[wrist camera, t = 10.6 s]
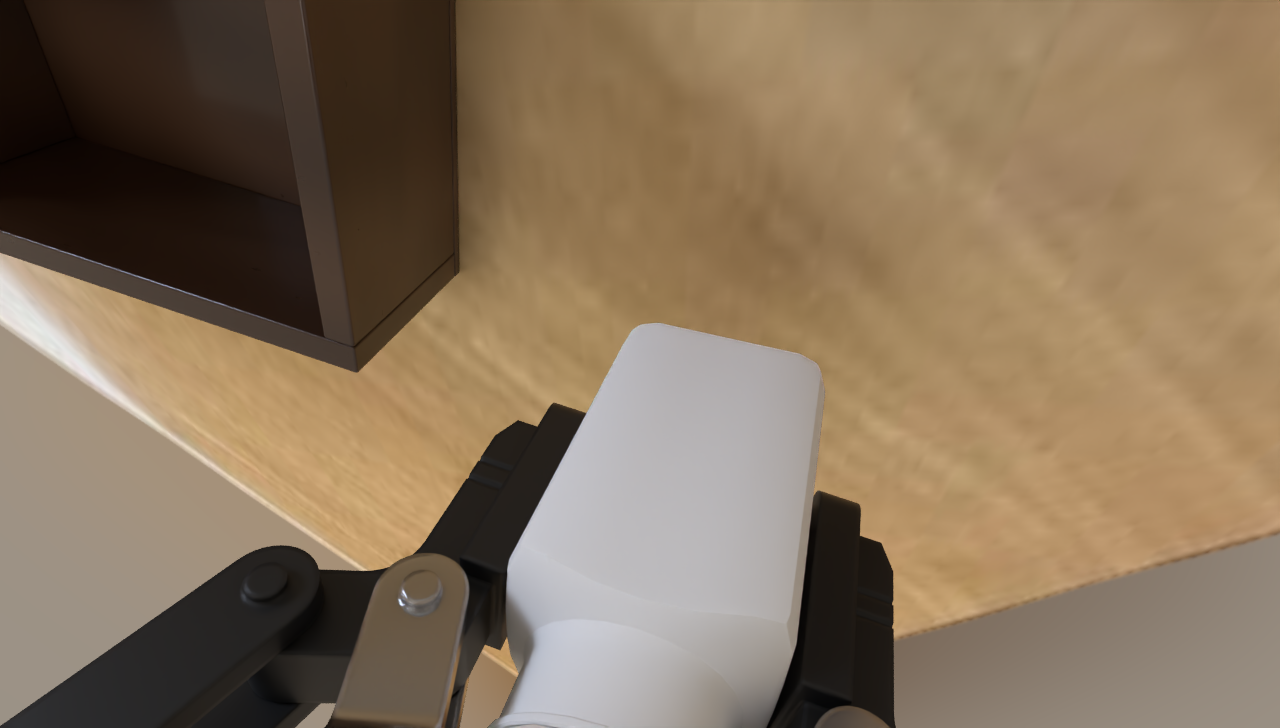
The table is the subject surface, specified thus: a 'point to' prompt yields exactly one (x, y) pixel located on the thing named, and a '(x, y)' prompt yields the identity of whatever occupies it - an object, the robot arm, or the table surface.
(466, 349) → the table surface
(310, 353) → the box
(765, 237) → the table surface
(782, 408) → the pepper shaker
